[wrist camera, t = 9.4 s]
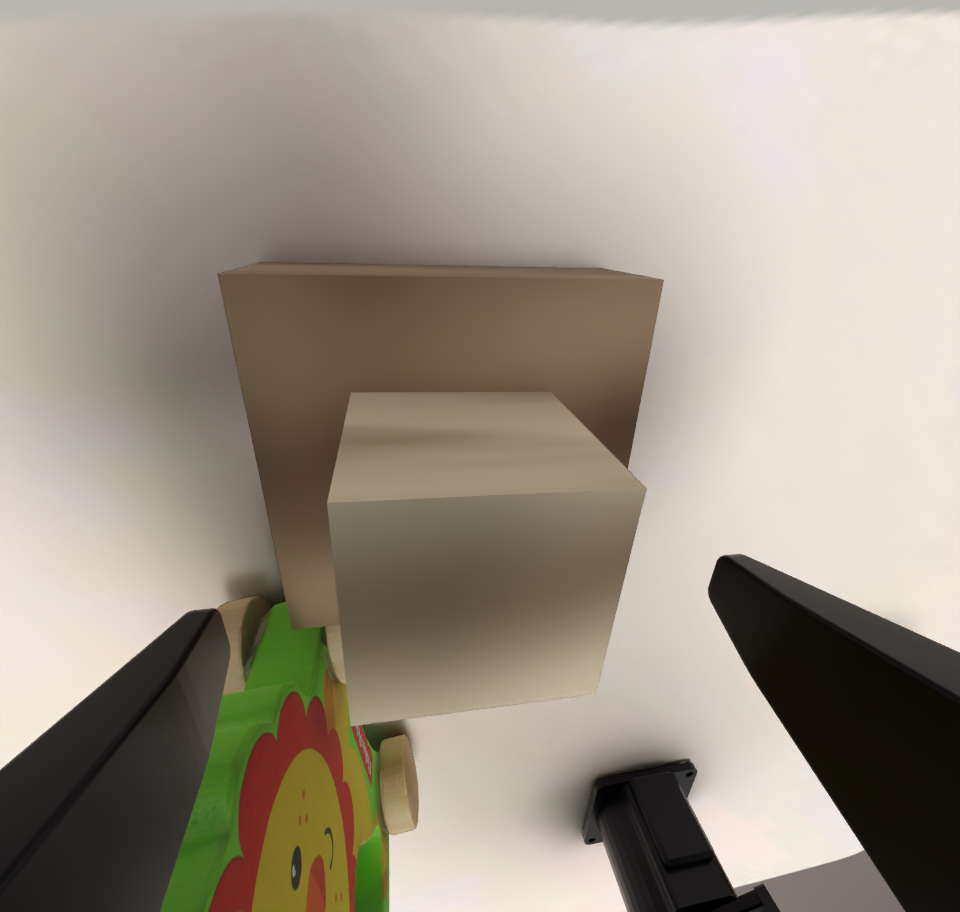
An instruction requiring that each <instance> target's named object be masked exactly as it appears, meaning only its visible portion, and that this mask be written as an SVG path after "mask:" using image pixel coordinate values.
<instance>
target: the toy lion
mask: <svg viewBox="0 0 960 912" xmlns="http://www.w3.org/2000/svg"><path fill="white" fill-rule="evenodd" d="M217 610H218V611H219V612H220V614H221V616H222V619H223V623H224V626H225V629H226V633H227V636H228V639H229V643H230V661H229V666H228V671H227V676H226V680H225V685H224V690H223V695H222V700H221V705H220V709H219V714H218V719H217V724H216V729H215V734H214V738H213V743H212V747H211V752H210V756H209V760H208V763H207V766H206V770H205V773H204V777H203V780H202V783H201V786H200V789H199V792H198V795H197V798H196V802H195V805H194V808H193V811H192V814H191V817H190V820H189V823H188V827H187V830H186V833H185V836H184V839H183V842H182V845H181V848H180V852H179V855H178V858H177V861H176V864H175V867H174V870H173V873H172V877H171V880H170V883H169V886H168V889H167V892H166V895H165V898H164V902H163V905H162V908H161V911H160V912H389V834H391V835H397V834H400V833H404V832H408V831H412V830H414V829H416V827H417V822H418V804H419V800H418V781H417V773H416V767H415V762H414V757H413V753H412V750H411V746H410V743H409V740H408V738H407V736H406V735H400V736H395V737H391V738H387V739H384V740H382V742H381V745H380V750H379V752H377V751H375V750H374V749H373V748H372V747H371V745H370V744H369V742H368V740H367V738H366V735H365V732H364V729H363V726H362V725H358V726H351V725H350V716H349V706H348V697H347V687H346V678H345V668H344V659H343V649H342V640H341V631H340V625H333V626H324V627H315V628H306V629H297V630H292V629H291V624H290V619H289V615H288V610H287V605H286V602H283V603H279V604H275V605H274V606H273V607H272V608H271V607H270V606H269V604H268V603H267V602H266V601H265V600H264V599H263V598H262V597H259V596H254V597H249V598H244V599H240V600H235V601H230V602H226V603H224V604H223V605H221V606H219V607H218V608H217Z"/></svg>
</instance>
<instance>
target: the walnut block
mask: <svg viewBox="0 0 960 912" xmlns="http://www.w3.org/2000/svg"><path fill="white" fill-rule="evenodd" d="M218 278H219V283H220V288H221V292H222V297H223V302H224V307H225V312H226V317H227V321H228V326H229V331H230V336H231V341H232V345H233V350H234V355H235V360H236V365H237V369H238V374H239V379H240V384H241V389H242V393H243V398H244V403H245V408H246V413H247V417H248V422H249V427H250V432H251V437H252V441H253V446H254V451H255V456H256V461H257V466H258V470H259V475H260V480H261V485H262V490H263V494H264V499H265V504H266V509H267V514H268V518H269V523H270V528H271V533H272V538H273V542H274V547H275V552H276V557H277V562H278V566H279V571H280V576H281V581H282V586H283V591H284V595H285V600H286V605H287V610H288V615H289V619H290V624H291V629H292V630H297V629H306V628H315V627H324V626H333V625H340V621H339V612H338V602H337V593H336V583H335V574H334V564H333V555H332V545H331V536H330V527H329V517H328V508H327V501H328V496H329V491H330V487H331V482H332V478H333V473H334V468H335V464H336V459H337V455H338V450H339V445H340V441H341V436H342V432H343V427H344V422H345V418H346V413H347V409H348V404H349V399H350V395H351V392H551V393H552V394H553V395H554V396H555V397H556V398H557V399H558V400H559V401H560V402H561V403H562V404H563V405H564V406H565V407H566V408H567V409H568V410H569V411H570V412H571V413H572V414H573V415H574V416H575V417H576V418H577V419H578V420H579V421H580V422H581V423H582V424H583V425H584V426H585V427H586V428H587V429H588V430H589V431H590V432H591V433H592V434H593V435H594V436H595V437H596V438H597V439H598V440H599V441H600V442H601V443H602V444H603V445H604V446H605V447H606V448H607V449H608V450H609V451H610V452H611V453H612V454H613V455H614V456H615V457H616V458H617V459H618V460H619V461H620V462H621V463H622V464H623V465H624V466H625V467H626V468H627V469H628V464H629V458H630V453H631V448H632V443H633V438H634V432H635V427H636V422H637V417H638V412H639V406H640V401H641V396H642V391H643V385H644V380H645V375H646V370H647V365H648V359H649V354H650V349H651V344H652V338H653V333H654V328H655V323H656V318H657V312H658V307H659V302H660V297H661V291H662V286H663V281H664V280H662V279H656V278H651V277H646V276H640V275H635V274H630V273H624V272H619V271H614V270H608V269H603V268H552V267H497V266H441V265H386V264H331V263H276V262H259V263H255V264H252V265H248V266H244V267H241V268H237V269H233V270H229V271H226V272H222V273H218Z"/></svg>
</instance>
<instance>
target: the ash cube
mask: <svg viewBox="0 0 960 912" xmlns="http://www.w3.org/2000/svg"><path fill="white" fill-rule="evenodd" d="M645 492H646V487H645V486H644V485H643V484H642V483H641V482H640V481H639V480H638V479H637V478H636V477H635V476H634V475H633V474H632V473H631V472H630V471H629V470H628V469H627V468H626V467H625V466H624V465H623V464H622V463H621V462H620V461H619V460H618V459H617V458H616V457H615V456H614V455H613V454H612V453H611V452H610V451H609V450H608V449H607V448H606V447H605V446H604V445H603V444H602V443H601V442H600V441H599V440H598V439H597V438H596V437H595V436H594V435H593V434H592V433H591V432H590V431H589V430H588V429H587V428H586V427H585V426H584V425H583V424H582V423H581V422H580V421H579V420H578V419H577V418H576V417H575V416H574V415H573V414H572V413H571V412H570V411H569V410H568V409H567V408H566V407H565V406H564V405H563V404H562V403H561V402H560V401H559V400H558V399H557V398H556V397H555V396H554V395H553V394H552V393H551V392H351V395H350V399H349V404H348V409H347V413H346V418H345V422H344V427H343V432H342V436H341V441H340V445H339V450H338V455H337V459H336V464H335V468H334V473H333V478H332V482H331V487H330V491H329V496H328V501H327V508H328V517H329V527H330V536H331V545H332V555H333V564H334V574H335V583H336V593H337V602H338V612H339V621H340V631H341V640H342V649H343V659H344V668H345V678H346V687H347V697H348V706H349V716H350V725H351V726H358V725H366V724H373V723H381V722H388V721H396V720H403V719H411V718H418V717H426V716H433V715H441V714H448V713H456V712H463V711H471V710H478V709H486V708H493V707H501V706H508V705H516V704H523V703H531V702H538V701H546V700H553V699H561V698H568V697H576V696H583V695H591V694H596V691H597V687H598V683H599V679H600V675H601V671H602V667H603V663H604V659H605V655H606V651H607V647H608V642H609V638H610V634H611V630H612V626H613V622H614V618H615V614H616V610H617V606H618V602H619V598H620V594H621V590H622V586H623V582H624V578H625V573H626V569H627V565H628V561H629V557H630V553H631V549H632V545H633V541H634V537H635V533H636V529H637V525H638V521H639V517H640V513H641V509H642V504H643V500H644V496H645Z"/></svg>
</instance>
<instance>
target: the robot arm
mask: <svg viewBox="0 0 960 912" xmlns="http://www.w3.org/2000/svg"><path fill="white" fill-rule="evenodd" d="M708 594H709V598H710V601H711V603H712V605H713V607H714V609H715V610H716V612H717V614H718V616H719V618H720V620H721V622H722V624H723V625H724V627H725V629H726V631H727V633H728V635H729V637H730V638H731V640H732V642H733V644H734V646H735V648H736V650H737V652H738V653H739V655H740V657H741V659H742V661H743V663H744V664H745V666H746V668H747V670H748V672H749V673H750V675H751V677H752V678H753V680H754V681H755V683H756V685H757V686H758V688H759V689H760V691H761V692H762V694H763V695H764V697H765V698H766V700H767V701H768V703H769V704H770V706H771V707H772V709H773V711H774V712H775V714H776V715H777V717H778V718H779V720H780V721H781V723H782V724H783V726H784V727H785V729H786V730H787V732H788V733H789V735H790V736H791V738H792V740H793V741H794V743H795V744H796V746H797V747H798V749H799V750H800V752H801V753H802V755H803V756H804V758H805V759H806V761H807V762H808V764H809V765H810V767H811V769H812V770H813V772H814V773H815V775H816V776H817V778H818V779H819V781H820V782H821V784H822V785H823V787H824V788H825V790H826V791H827V793H828V794H829V796H830V797H831V799H832V801H833V802H834V804H835V805H836V807H837V808H838V810H839V811H840V813H841V814H842V816H843V817H844V819H845V820H846V822H847V823H848V825H849V826H850V828H851V830H852V831H853V833H854V834H855V836H856V837H857V839H858V840H859V842H860V843H861V845H862V846H863V848H864V849H865V851H866V852H867V854H868V855H869V857H870V858H871V860H872V861H873V863H874V864H875V866H876V868H877V869H878V871H879V872H880V874H881V875H882V877H883V878H884V880H885V881H886V883H887V884H888V886H889V888H890V889H891V891H892V892H893V894H894V895H895V897H896V898H897V900H898V901H899V903H900V904H901V906H902V907H903V909H904V910H905V912H960V652H957V651H955V650H953V649H951V648H948V647H946V646H944V645H942V644H940V643H937V642H935V641H933V640H931V639H929V638H926V637H924V636H922V635H920V634H918V633H915V632H913V631H911V630H909V629H907V628H904V627H902V626H900V625H898V624H895V623H893V622H891V621H889V620H887V619H884V618H882V617H880V616H878V615H876V614H873V613H871V612H869V611H867V610H865V609H862V608H860V607H858V606H856V605H854V604H851V603H849V602H847V601H845V600H842V599H840V598H838V597H836V596H834V595H831V594H829V593H827V592H825V591H823V590H820V589H818V588H816V587H814V586H812V585H809V584H807V583H805V582H803V581H801V580H798V579H796V578H794V577H792V576H789V575H787V574H785V573H783V572H781V571H778V570H776V569H774V568H772V567H770V566H767V565H765V564H763V563H761V562H759V561H756V560H754V559H752V558H750V557H748V556H745V555H742V554H732V555H724V556H721V557H720V558H719V559H718V560H717V562H716V565H715V568H714V571H713V574H712V578H711V581H710V584H709V587H708ZM229 661H230V643H229V639H228V636H227V633H226V629H225V626H224V623H223V619H222V616H221V614H220V612H219V611H218V610H217V609H213V608H212V609H202V610H193V611H190V612H188V613H186V614H185V615H183V616H182V617H181V618H180V619H179V620H178V621H176V622H175V623H174V624H173V625H172V626H170V627H169V628H168V629H167V630H166V631H164V632H163V633H162V634H161V635H160V636H159V637H157V638H156V639H155V640H154V641H153V642H151V643H150V644H149V645H148V646H147V647H145V648H144V649H143V650H142V651H141V652H140V653H138V654H137V655H136V656H135V657H134V658H132V659H131V660H130V661H129V662H128V663H126V664H125V665H124V666H123V667H122V668H121V669H119V670H118V671H117V672H116V673H115V674H113V675H112V676H111V677H110V678H109V679H107V680H106V681H105V682H104V683H103V684H102V685H100V686H99V687H98V688H97V689H96V690H94V691H93V692H92V693H91V694H90V695H88V696H87V697H86V698H85V699H84V700H83V701H81V702H80V703H79V704H78V705H77V706H75V707H74V708H73V709H72V710H71V711H69V712H68V713H67V714H66V715H65V716H64V717H62V718H61V719H60V720H59V721H58V722H56V723H55V724H54V725H53V726H52V727H50V728H49V729H48V730H47V731H46V732H45V733H43V734H42V735H41V736H40V737H39V738H37V739H36V740H35V741H34V742H33V743H31V744H30V745H29V746H28V747H27V748H25V749H24V750H23V751H22V752H21V753H20V754H18V755H17V756H16V757H15V758H14V759H12V760H11V761H10V762H9V763H8V764H6V765H5V766H4V767H3V768H2V769H1V770H0V912H160V911H161V908H162V905H163V902H164V898H165V895H166V892H167V889H168V886H169V883H170V880H171V877H172V873H173V870H174V867H175V864H176V861H177V858H178V855H179V852H180V848H181V845H182V842H183V839H184V836H185V833H186V830H187V827H188V823H189V820H190V817H191V814H192V811H193V808H194V805H195V802H196V798H197V795H198V792H199V789H200V786H201V783H202V780H203V777H204V773H205V770H206V766H207V763H208V760H209V756H210V752H211V747H212V743H213V738H214V734H215V729H216V724H217V719H218V714H219V709H220V705H221V700H222V695H223V690H224V685H225V680H226V676H227V671H228V666H229ZM696 774H697V770H696V768H695V766H694V765H693V763H691V762H689V763H683V764H677V765H672V766H667V767H661V768H656V769H651V770H645V771H640V772H635V773H629V774H624V775H618V776H613V777H608V778H603V779H600V780H598V781H596V782H595V784H594V787H593V791H592V795H591V800H590V804H589V808H588V812H587V817H586V821H585V825H584V829H583V834H582V836H583V839H584V842H585V844H587V845H590V844H595V843H600V842H603V843H604V846H605V849H606V852H607V855H608V858H609V861H610V863H611V866H612V869H613V872H614V875H615V878H616V880H617V883H618V886H619V889H620V892H621V895H622V897H623V900H624V903H625V906H626V909H627V912H780V911H779V909H778V907H777V906H776V904H775V902H774V901H773V899H772V897H771V896H770V894H769V892H768V891H767V889H766V887H765V886H764V884H760V885H758V886H755V887H754V890H752V891H750V892H748V893H746V894H743V895H741V896H739V897H738V896H737V894H736V892H735V891H734V889H733V887H732V885H731V883H730V881H729V879H728V877H727V875H726V873H725V872H724V870H723V868H722V866H721V864H720V862H719V860H718V858H717V856H716V854H715V852H714V850H713V848H712V846H711V844H710V842H709V840H708V838H707V836H706V834H705V832H704V830H703V829H702V827H701V825H700V823H699V821H698V819H697V817H696V815H695V813H694V811H693V810H692V808H691V806H690V804H689V802H688V800H687V797H688V794H689V792H690V789H691V787H692V784H693V782H694V779H695V777H696Z"/></svg>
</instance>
